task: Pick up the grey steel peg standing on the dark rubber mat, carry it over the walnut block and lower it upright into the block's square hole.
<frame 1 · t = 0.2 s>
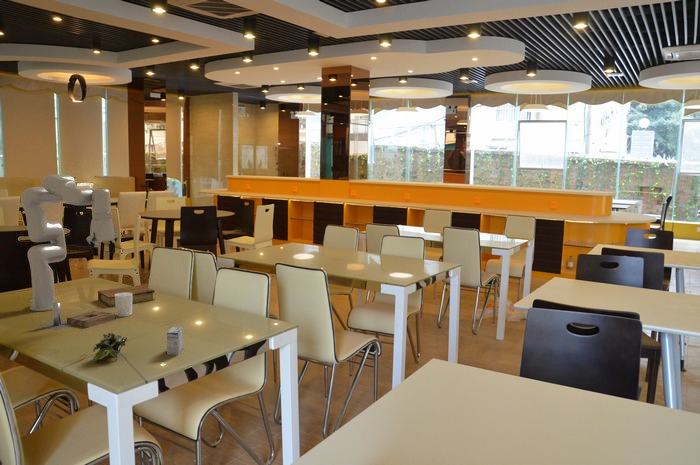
hand: (103, 254, 253), 31 cm above the table, tool pointing down, fingers open, 9 cm apart
medicine box: (175, 351, 216), on the table
peg: (57, 325, 248), resting on mat
mat: (57, 326, 248), on the table
hole block: (91, 322, 254), on the table
green leafy plant: (111, 359, 207), on the table
white cup: (124, 315, 267), on the table
diary: (126, 301, 295), on the table
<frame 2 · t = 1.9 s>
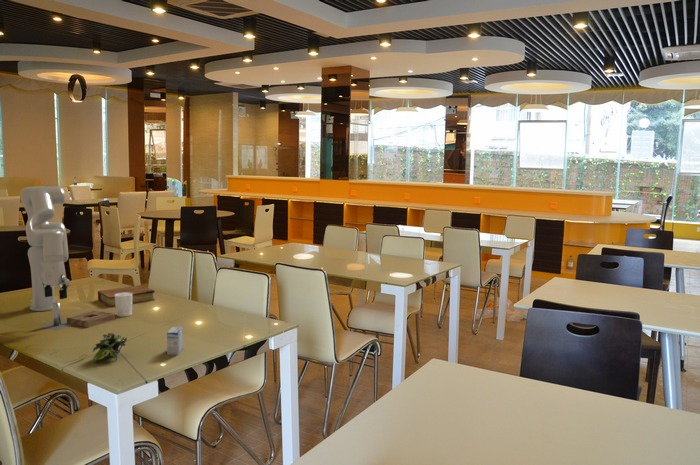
hand: (55, 297, 246), 13 cm above the table, tool pointing down, fingers open, 9 cm apart
nothing on the table moved.
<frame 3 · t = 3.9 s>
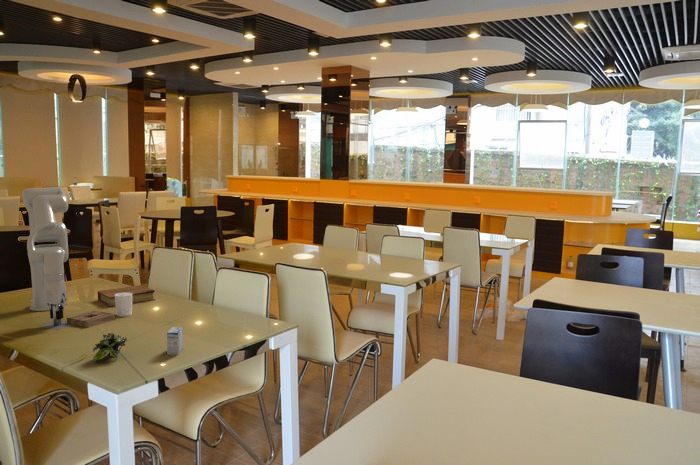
hand: (56, 318, 247), 4 cm above the table, tool pointing down, fingers closed on peg, 3 cm apart
peg: (57, 325, 248), resting on mat, touching gripper
everything else where it was.
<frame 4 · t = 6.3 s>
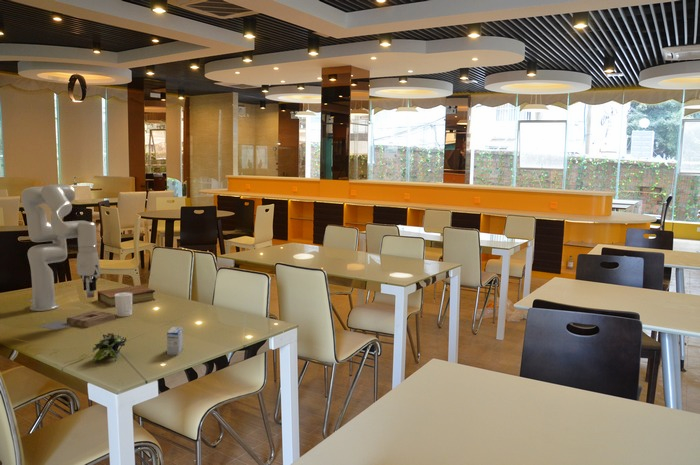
hand: (90, 289, 252), 15 cm above the table, tool pointing down, fingers closed on peg, 3 cm apart
peg: (90, 296, 252), point 12 cm above the table, touching gripper
everything else where it was.
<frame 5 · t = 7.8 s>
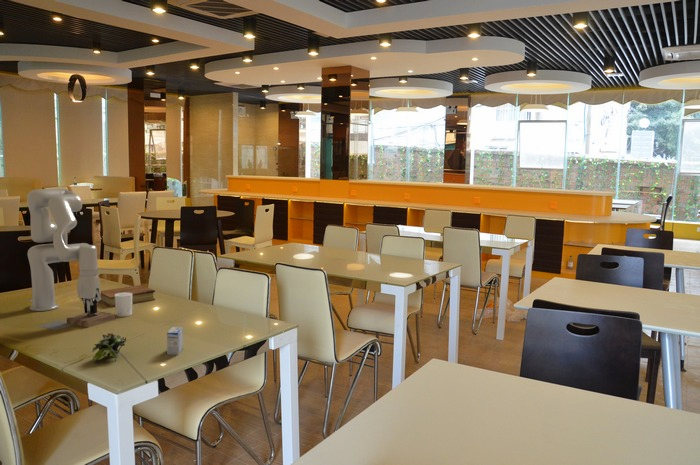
hand: (90, 312, 253), 5 cm above the table, tool pointing down, fingers closed on peg, 3 cm apart
peg: (91, 319, 253), point 1 cm above the table, touching gripper
everything else where it was.
when the fingers open (4 cm above the table, at t = 8.8 s): peg stays where it is, resting in hole block.
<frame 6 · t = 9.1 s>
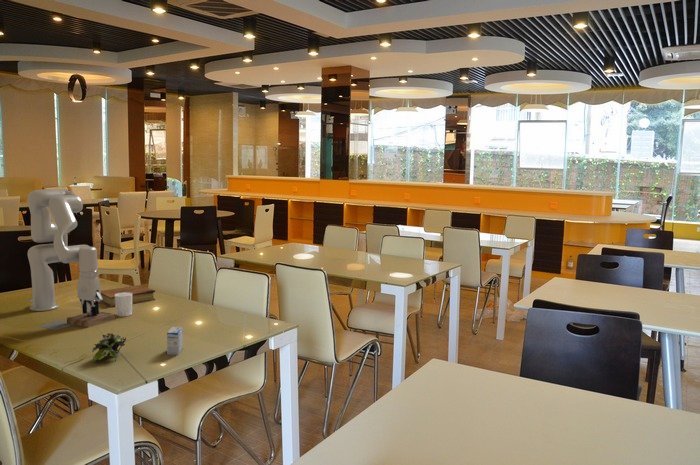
hand: (90, 313, 253), 4 cm above the table, tool pointing down, fingers open, 5 cm apart
peg: (91, 322, 254), resting in hole block
everything else where it was.
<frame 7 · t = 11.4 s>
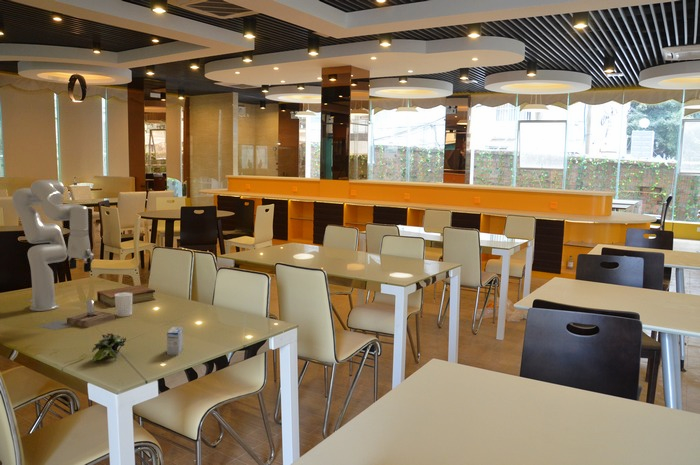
hand: (80, 270, 256), 23 cm above the table, tool pointing down, fingers open, 9 cm apart
nothing on the table moved.
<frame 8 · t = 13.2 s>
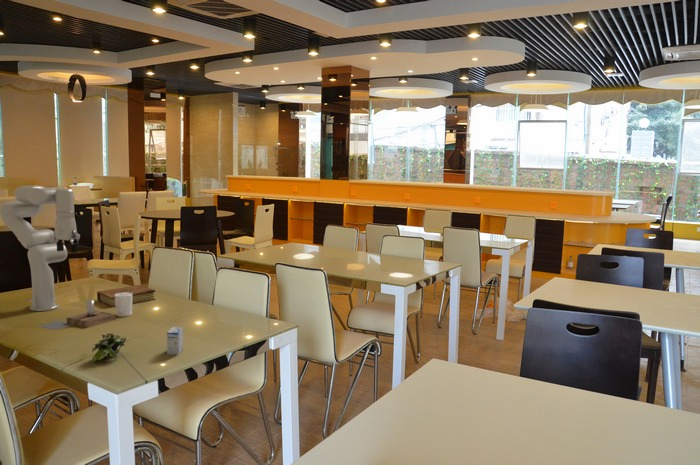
hand: (67, 251, 262), 30 cm above the table, tool pointing down, fingers open, 9 cm apart
nothing on the table moved.
at the end: peg 0.1 cm off-centre on the hole block, point 0.0 cm above the hole block's base; peg tilted 0°; the gripper is holding nothing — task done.
